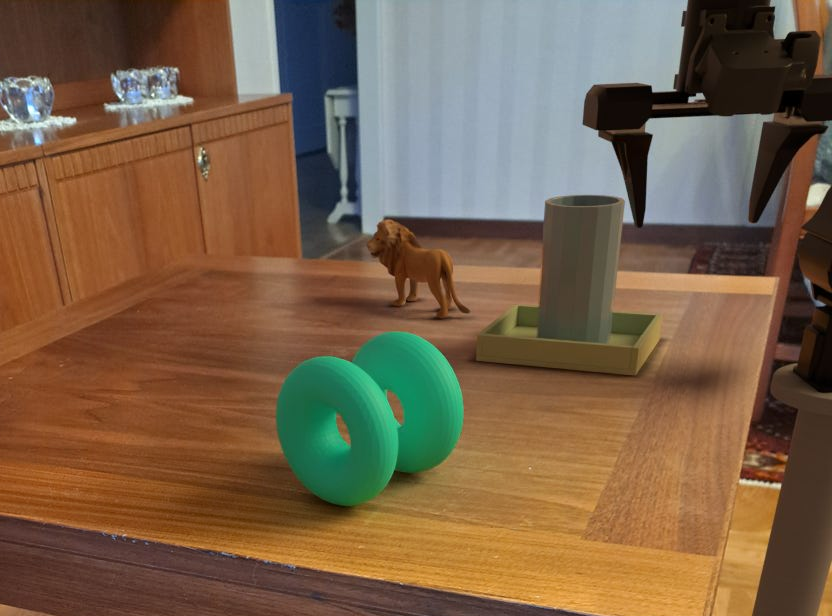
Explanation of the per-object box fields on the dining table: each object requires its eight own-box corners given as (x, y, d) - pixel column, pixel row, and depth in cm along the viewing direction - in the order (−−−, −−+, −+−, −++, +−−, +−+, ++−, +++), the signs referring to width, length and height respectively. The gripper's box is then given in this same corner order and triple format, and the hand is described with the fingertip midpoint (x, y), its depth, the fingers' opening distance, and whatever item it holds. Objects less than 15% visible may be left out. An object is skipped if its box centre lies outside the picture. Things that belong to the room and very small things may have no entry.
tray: (659, 339, 95) (663, 314, 93) (635, 375, 85) (639, 348, 84) (513, 328, 100) (514, 303, 99) (476, 360, 91) (476, 334, 90)
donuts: (470, 479, 67) (474, 339, 62) (378, 529, 61) (374, 378, 56) (366, 448, 73) (361, 317, 68) (273, 490, 67) (260, 350, 62)
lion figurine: (361, 302, 112) (359, 221, 107) (393, 294, 115) (392, 214, 110) (454, 323, 103) (456, 234, 98) (486, 313, 106) (489, 227, 101)
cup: (623, 343, 92) (640, 198, 85) (578, 359, 89) (592, 209, 81) (566, 330, 97) (578, 192, 90) (521, 345, 93) (529, 202, 86)
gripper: (626, -6, 61) (601, 249, 70) (916, -20, 61) (855, 238, 69) (591, -1, 71) (572, 223, 79) (842, -13, 70) (796, 213, 79)
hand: (695, 224), depth 76 cm, fingers open, 9 cm apart
